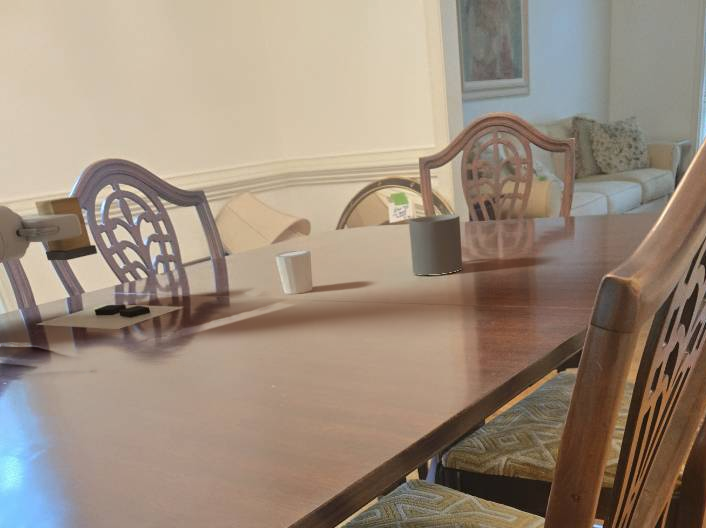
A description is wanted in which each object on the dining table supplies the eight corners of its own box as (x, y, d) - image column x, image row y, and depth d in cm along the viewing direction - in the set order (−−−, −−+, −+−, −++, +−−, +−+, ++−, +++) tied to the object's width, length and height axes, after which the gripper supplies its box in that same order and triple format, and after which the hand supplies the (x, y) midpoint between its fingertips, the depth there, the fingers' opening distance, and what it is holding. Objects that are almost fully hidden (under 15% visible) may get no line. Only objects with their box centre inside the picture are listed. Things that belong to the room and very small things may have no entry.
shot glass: (274, 294, 149) (268, 257, 146) (291, 287, 155) (286, 250, 151) (305, 294, 147) (299, 255, 143) (321, 286, 152) (316, 249, 149)
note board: (37, 329, 141) (35, 324, 141) (105, 309, 153) (104, 304, 153) (119, 334, 131) (117, 328, 130) (185, 312, 143) (184, 306, 142)
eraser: (47, 260, 144) (30, 202, 139) (78, 253, 149) (62, 197, 144) (67, 260, 141) (50, 201, 136) (97, 253, 146) (82, 196, 141)
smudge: (95, 315, 143) (94, 309, 142) (109, 310, 146) (108, 304, 146) (113, 315, 142) (111, 309, 141) (126, 309, 145) (125, 304, 144)
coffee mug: (461, 273, 150) (458, 218, 146) (411, 277, 151) (406, 223, 147) (463, 262, 162) (460, 210, 157) (416, 266, 163) (412, 215, 158)
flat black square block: (120, 315, 140) (118, 310, 140) (140, 310, 143) (138, 305, 142) (130, 317, 138) (129, 312, 137) (150, 312, 140) (149, 307, 140)
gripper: (33, 212, 126) (99, 201, 136) (-40, 216, 136) (27, 205, 146) (45, 252, 129) (109, 238, 139) (-27, 253, 139) (38, 240, 149)
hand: (66, 221), depth 143 cm, fingers closed on eraser, 4 cm apart
